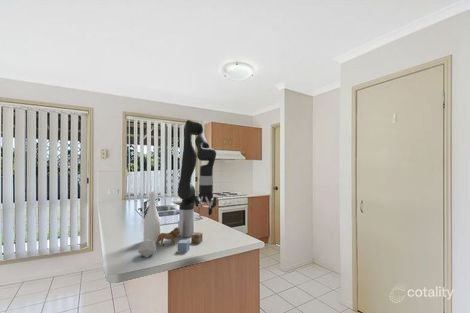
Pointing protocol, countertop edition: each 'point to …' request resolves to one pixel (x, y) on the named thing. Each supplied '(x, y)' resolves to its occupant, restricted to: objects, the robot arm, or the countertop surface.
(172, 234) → the lion figurine
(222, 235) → the countertop surface
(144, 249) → the grey rounded lump
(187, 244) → the slate blue cube
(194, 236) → the walnut cube
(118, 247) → the countertop surface
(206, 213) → the terracotta cube
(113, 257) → the countertop surface
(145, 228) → the wine bottle
